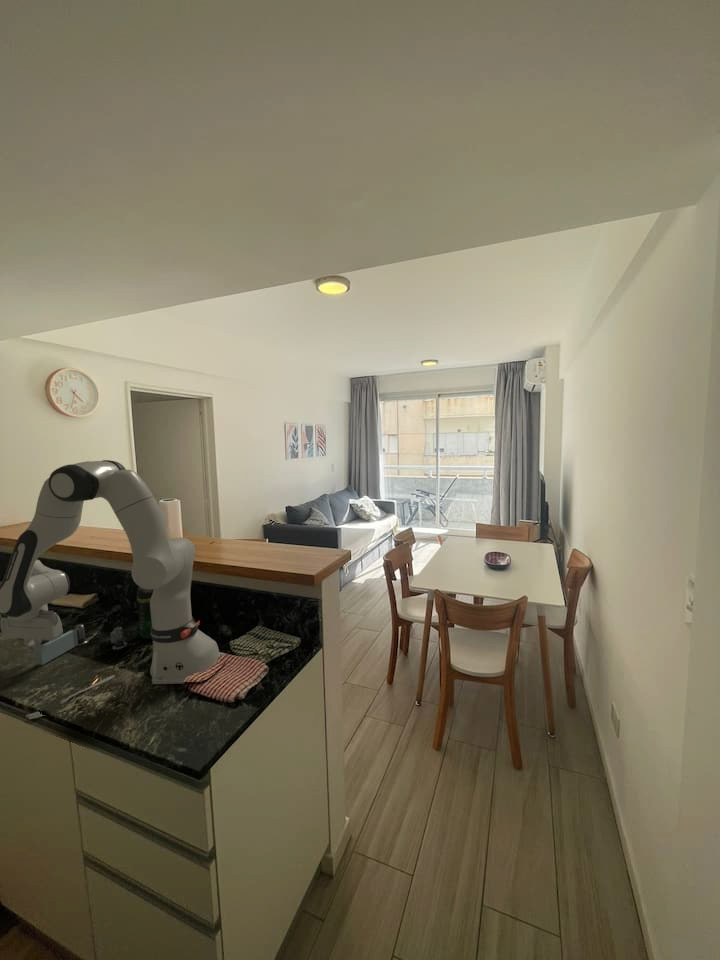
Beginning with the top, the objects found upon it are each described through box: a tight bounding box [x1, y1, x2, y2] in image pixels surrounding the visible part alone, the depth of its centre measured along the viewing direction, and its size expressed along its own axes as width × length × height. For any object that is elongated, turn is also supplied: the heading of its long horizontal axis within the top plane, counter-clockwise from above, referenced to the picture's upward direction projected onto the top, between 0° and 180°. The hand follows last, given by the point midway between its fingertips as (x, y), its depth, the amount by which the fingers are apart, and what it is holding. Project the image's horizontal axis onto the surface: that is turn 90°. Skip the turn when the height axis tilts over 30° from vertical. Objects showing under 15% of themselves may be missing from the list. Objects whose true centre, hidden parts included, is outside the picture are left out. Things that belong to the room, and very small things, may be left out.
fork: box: [25, 674, 116, 720], centre depth 105 cm, size 3×24×2 cm, turn 152°
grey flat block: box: [35, 629, 78, 666], centre depth 125 cm, size 12×2×6 cm, turn 168°
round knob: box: [74, 623, 90, 647], centre depth 133 cm, size 4×4×6 cm
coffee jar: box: [136, 586, 154, 640], centre depth 137 cm, size 10×8×19 cm
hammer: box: [109, 626, 128, 651], centre depth 130 cm, size 7×5×6 cm
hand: (35, 650), depth 122 cm, fingers closed
